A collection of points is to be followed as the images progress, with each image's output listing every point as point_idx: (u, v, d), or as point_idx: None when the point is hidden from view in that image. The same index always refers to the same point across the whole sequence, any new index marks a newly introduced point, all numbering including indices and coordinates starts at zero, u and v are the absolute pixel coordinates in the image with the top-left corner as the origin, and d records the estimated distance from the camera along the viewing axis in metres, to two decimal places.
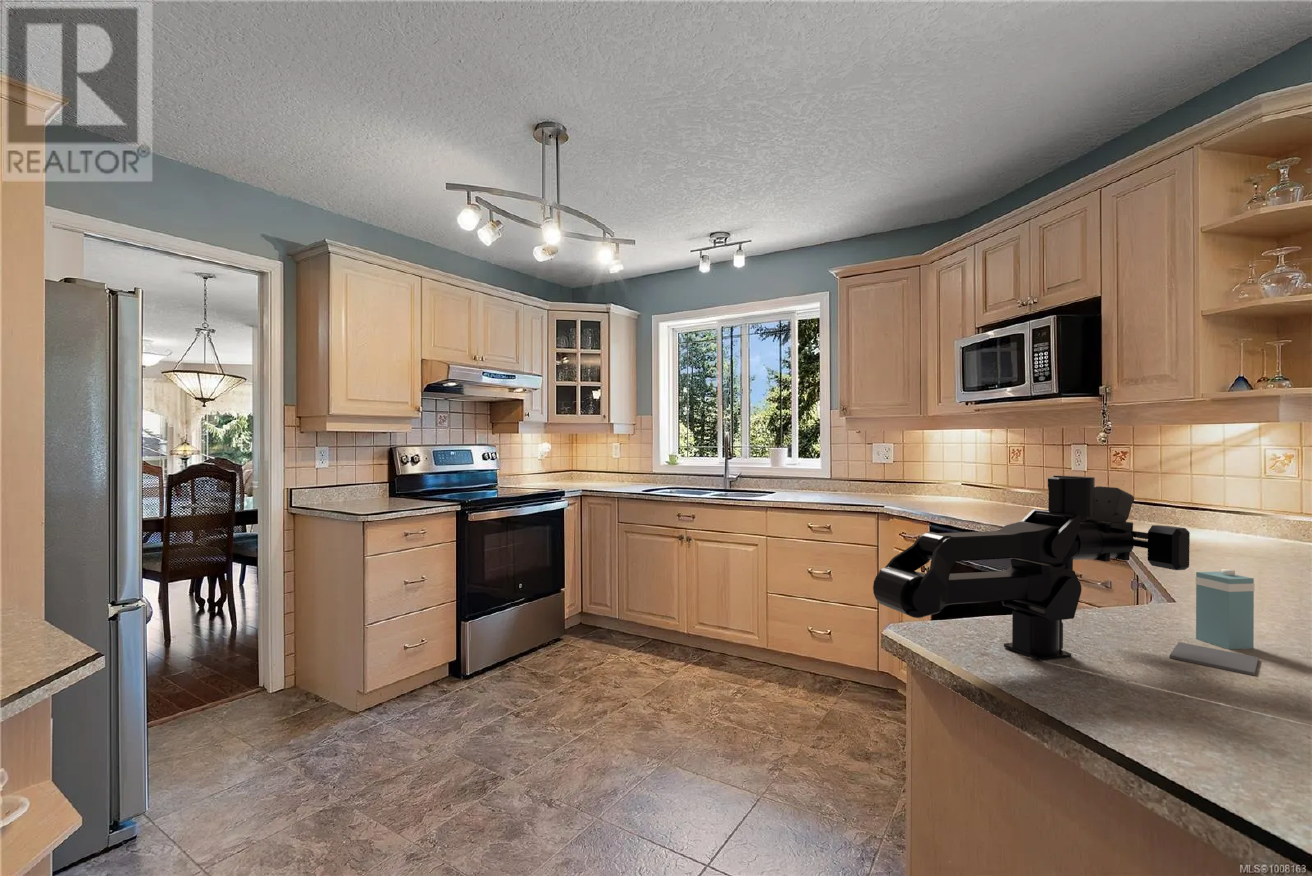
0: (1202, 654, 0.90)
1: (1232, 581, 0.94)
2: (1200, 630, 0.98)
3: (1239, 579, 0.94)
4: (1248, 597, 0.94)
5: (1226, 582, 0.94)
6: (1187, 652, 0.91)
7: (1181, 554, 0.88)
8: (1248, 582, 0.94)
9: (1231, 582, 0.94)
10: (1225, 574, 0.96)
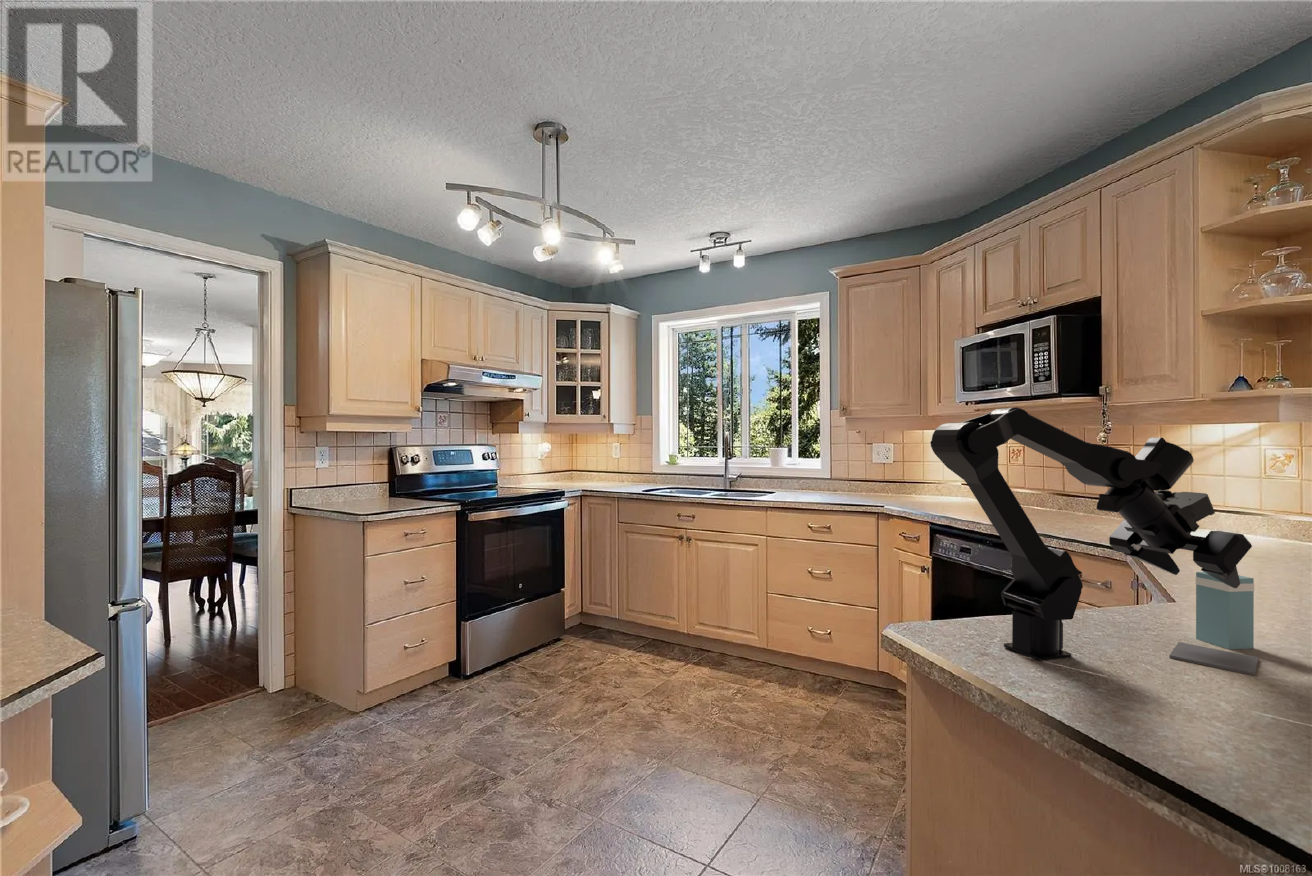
0: (1202, 654, 0.90)
1: None
2: (1200, 630, 0.98)
3: (1239, 579, 0.94)
4: (1248, 597, 0.94)
5: None
6: (1187, 652, 0.91)
7: (1231, 555, 0.86)
8: (1248, 582, 0.94)
9: None
10: None
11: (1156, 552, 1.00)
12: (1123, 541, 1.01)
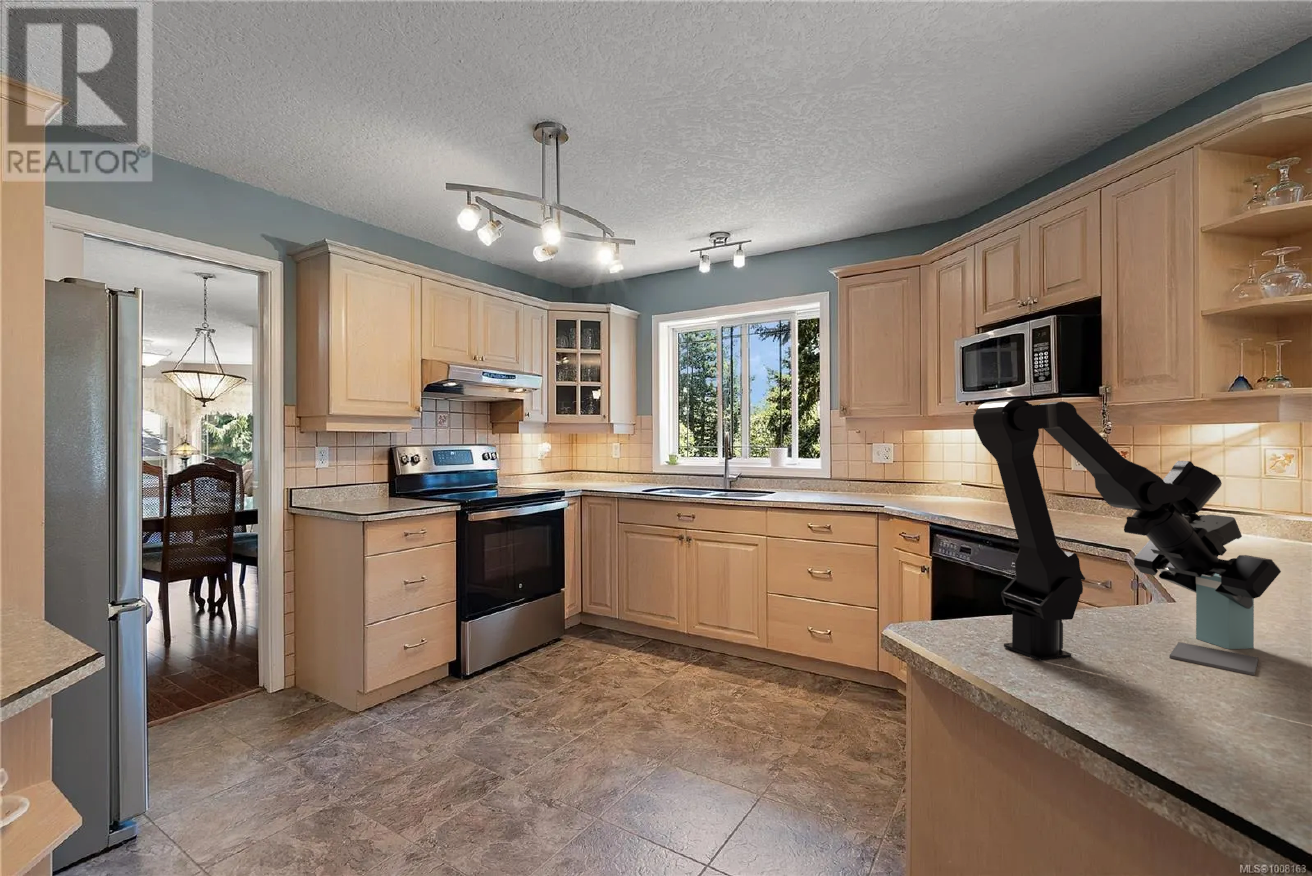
0: (1202, 654, 0.90)
1: None
2: (1200, 629, 0.98)
3: None
4: None
5: None
6: (1187, 652, 0.91)
7: (1260, 580, 0.86)
8: None
9: None
10: None
11: (1193, 576, 0.99)
12: (1149, 562, 1.01)
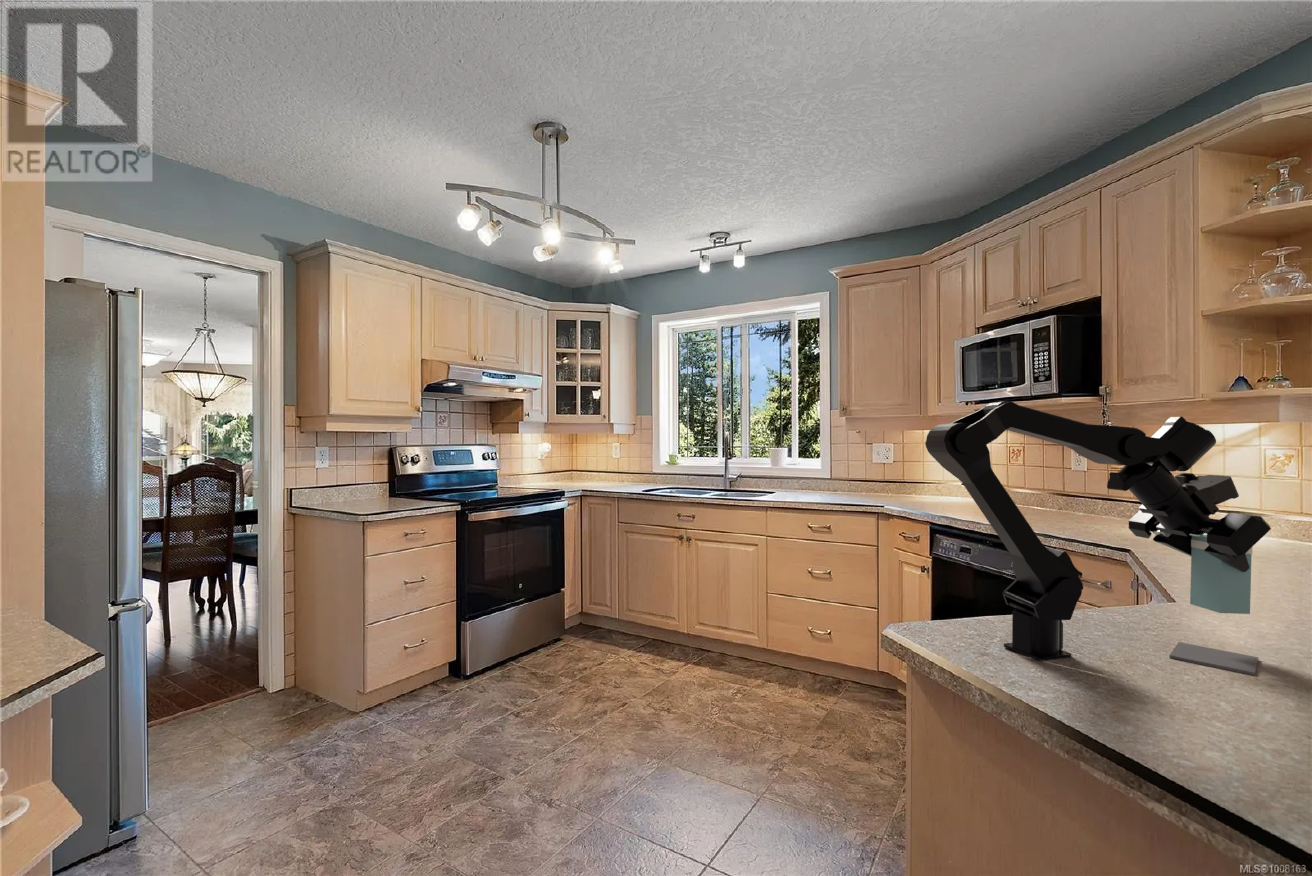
0: (1202, 654, 0.90)
1: None
2: (1194, 594, 0.94)
3: None
4: None
5: None
6: (1187, 652, 0.91)
7: (1246, 536, 0.83)
8: None
9: None
10: None
11: (1188, 539, 0.95)
12: (1142, 524, 0.98)
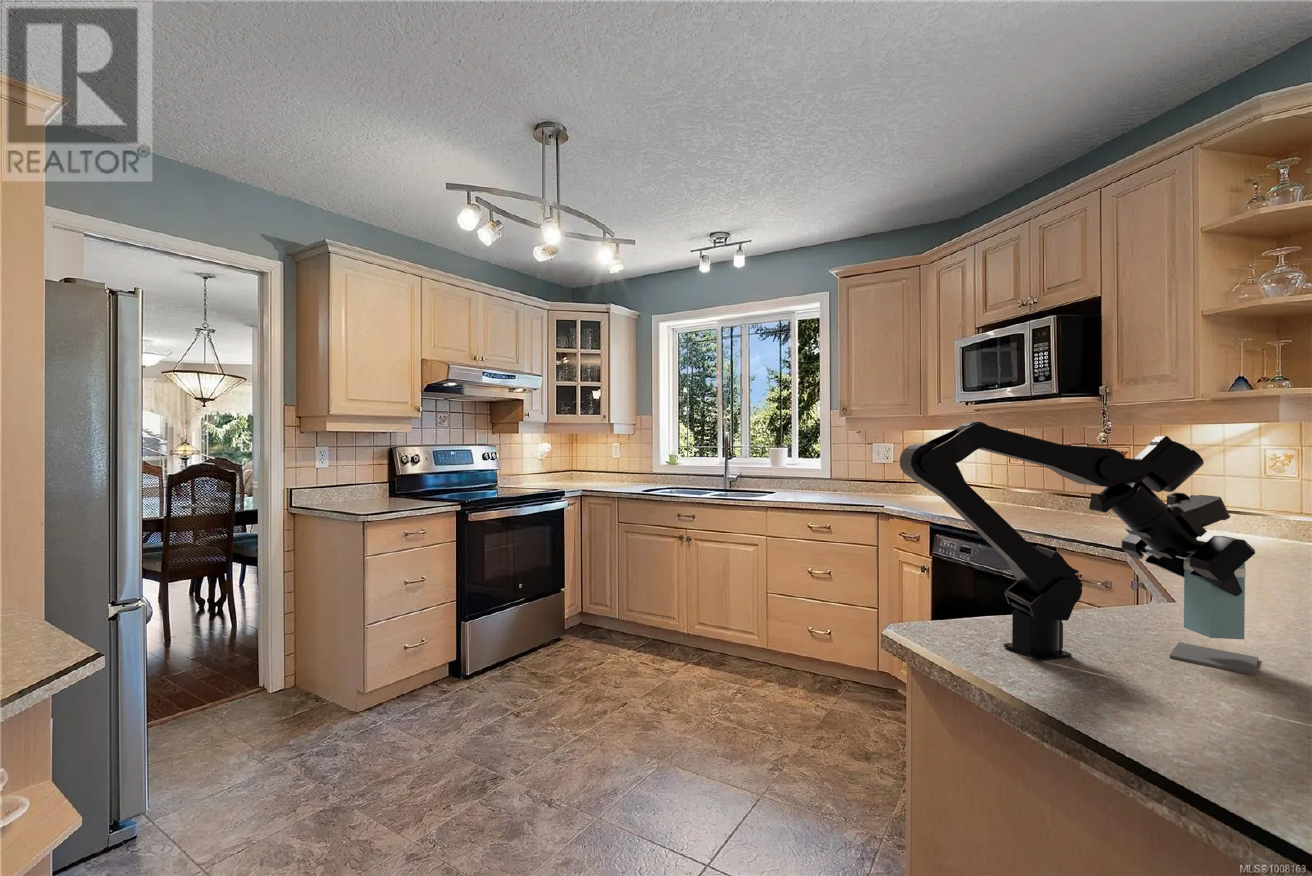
0: (1202, 654, 0.90)
1: None
2: (1187, 617, 0.91)
3: None
4: None
5: None
6: (1187, 652, 0.91)
7: (1227, 561, 0.81)
8: None
9: None
10: None
11: (1181, 561, 0.92)
12: (1133, 545, 0.96)
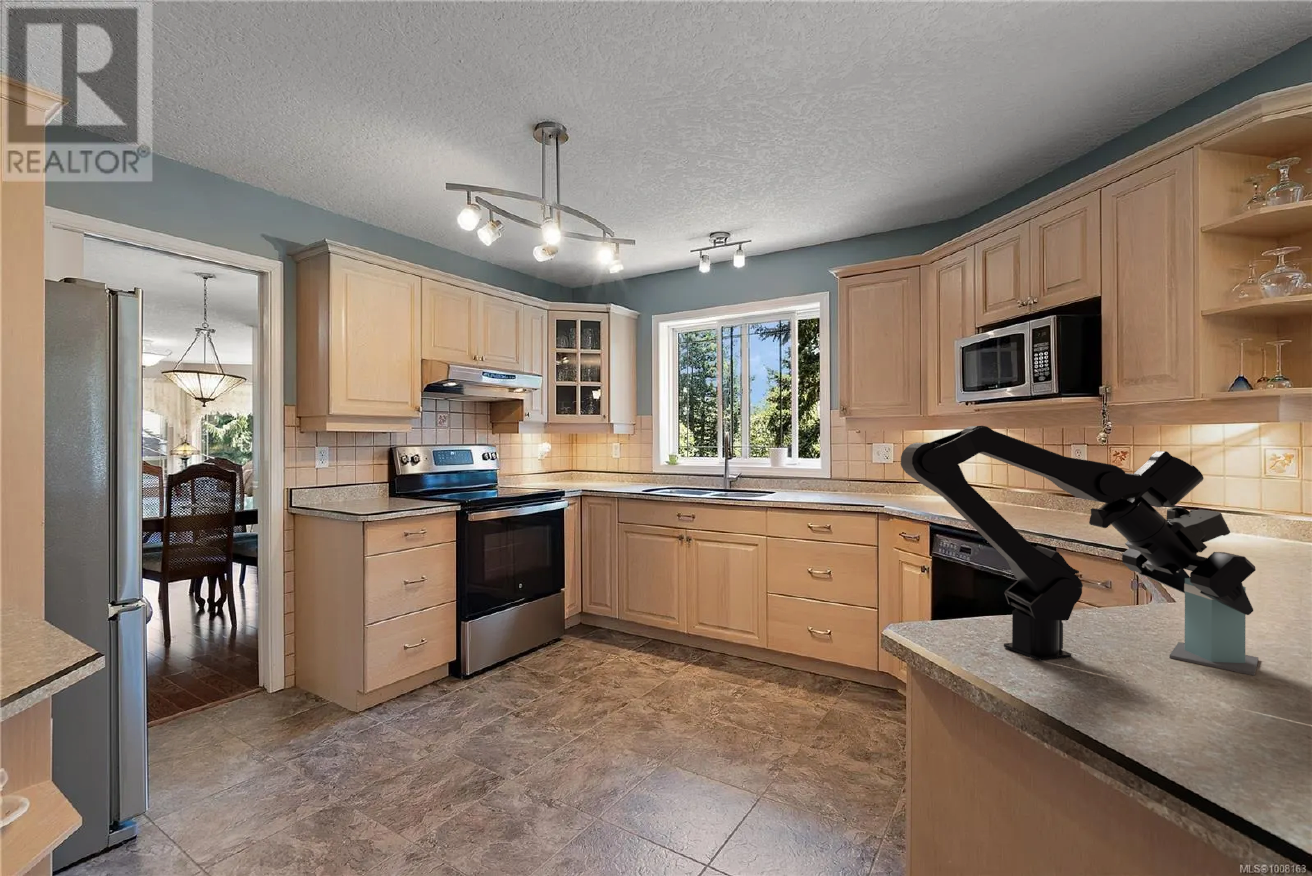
0: None
1: None
2: (1188, 640, 0.91)
3: None
4: None
5: None
6: (1187, 652, 0.91)
7: (1227, 578, 0.81)
8: None
9: None
10: None
11: (1173, 573, 0.94)
12: (1133, 559, 0.96)
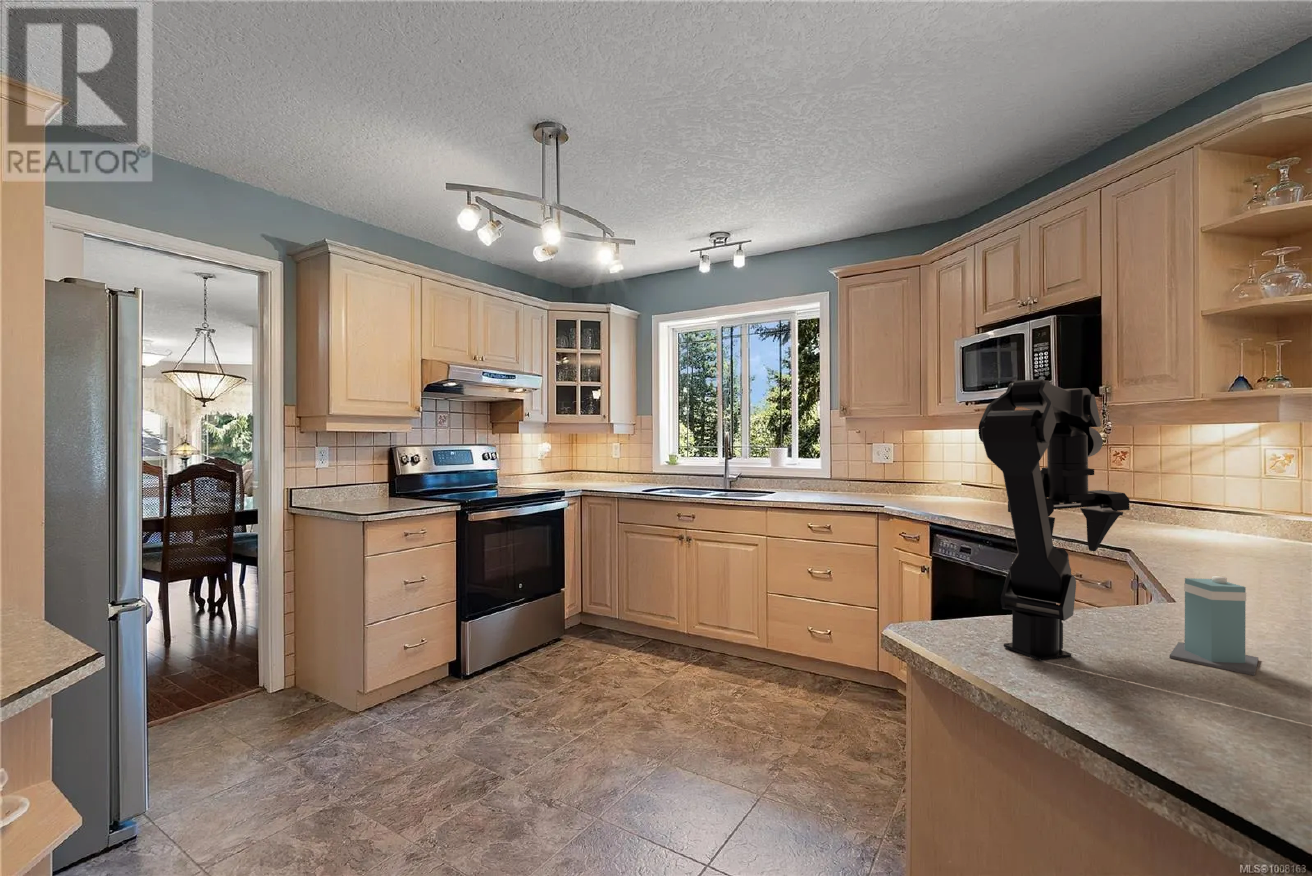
0: None
1: (1216, 588, 0.87)
2: (1188, 640, 0.91)
3: (1226, 587, 0.87)
4: (1238, 607, 0.87)
5: (1209, 589, 0.87)
6: (1187, 652, 0.91)
7: None
8: (1238, 591, 0.87)
9: (1214, 590, 0.87)
10: (1215, 581, 0.89)
11: None
12: (1047, 500, 0.99)
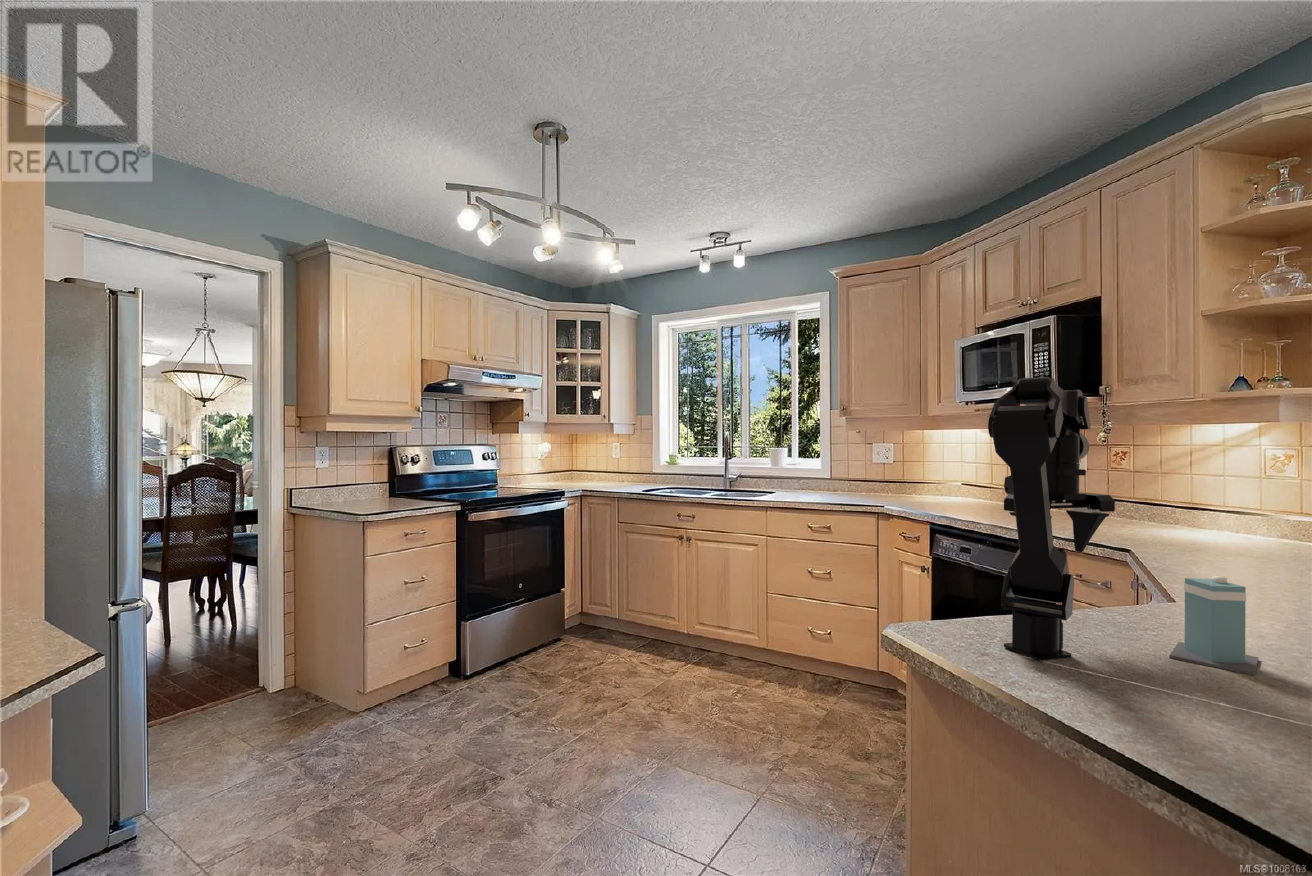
0: None
1: (1216, 588, 0.87)
2: (1188, 640, 0.91)
3: (1226, 587, 0.87)
4: (1238, 607, 0.87)
5: (1209, 589, 0.87)
6: (1187, 652, 0.91)
7: None
8: (1238, 591, 0.87)
9: (1214, 590, 0.87)
10: (1215, 581, 0.89)
11: None
12: None
